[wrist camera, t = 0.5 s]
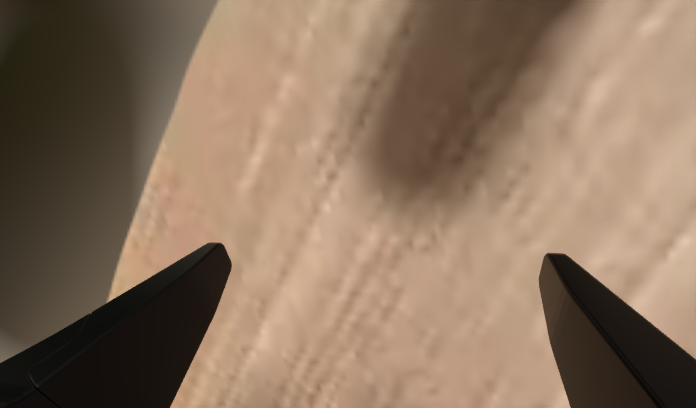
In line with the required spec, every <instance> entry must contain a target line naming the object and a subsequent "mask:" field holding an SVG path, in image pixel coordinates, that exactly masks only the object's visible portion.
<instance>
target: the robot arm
mask: <svg viewBox="0 0 696 408" xmlns="http://www.w3.org/2000/svg"><path fill="white" fill-rule="evenodd" d="M231 267H232V264H231V260H230V258H229V256H228V253H227V251H226V249H225V247H224V245H223V244H222V243H207V244H206V245H204V246H202V247H201V248H199V249H197V250H195V251H194V252H192V253H190V254H189V255H187V256H185V257H184V258H182V259H180V260H179V261H177V262H175V263H174V264H172V265H170V266H169V267H167V268H165V269H164V270H162V271H160V272H158V273H157V274H155V275H153V276H152V277H150V278H148V279H147V280H145V281H143V282H142V283H140V284H138V285H137V286H135V287H133V288H132V289H130V290H128V291H126V292H125V293H123V294H121V295H120V296H118V297H116V298H115V299H113V300H111V301H110V302H108V303H106V304H105V305H103V306H101V307H100V308H98V309H96V310H95V311H93V312H92V313H91V314H88V315H86V316H84V317H83V318H81V319H79V320H78V321H76V322H74V323H73V324H71V325H69V326H68V327H66V328H64V329H62V330H60V331H59V332H57V333H55V334H53V335H52V336H50V337H48V338H46V339H44V340H43V341H41V342H39V343H37V344H35V345H33V346H31V347H30V348H28V349H26V350H24V351H22V352H20V353H18V354H17V355H15V356H13V357H11V358H9V359H7V360H5V361H3V362H2V363H0V408H170V406H171V404H172V402H173V400H174V398H175V396H176V394H177V392H178V390H179V388H180V386H181V383H182V381H183V379H184V377H185V375H186V373H187V371H188V369H189V367H190V365H191V363H192V361H193V359H194V356H195V354H196V352H197V350H198V348H199V346H200V344H201V342H202V340H203V338H204V336H205V334H206V332H207V329H208V327H209V325H210V323H211V321H212V319H213V317H214V315H215V312H216V310H217V307H218V304H219V302H220V299H221V296H222V293H223V291H224V288H225V285H226V282H227V280H228V277H229V274H230V272H231ZM539 287H540V293H541V298H542V303H543V308H544V314H545V319H546V324H547V329H548V334H549V339H550V344H551V347H552V351H553V354H554V357H555V360H556V363H557V366H558V369H559V372H560V376H561V379H562V382H563V385H564V388H565V391H566V394H567V397H568V400H569V404H570V407H571V408H696V359H695V358H693V357H692V356H691V355H690V354H688V353H687V352H686V351H685V350H684V349H682V348H681V347H680V346H679V345H677V344H676V343H675V342H674V341H672V340H671V339H670V338H669V337H667V336H666V335H665V334H664V333H662V332H661V331H660V330H659V329H658V328H656V327H655V326H654V325H653V324H651V323H650V322H649V321H648V320H646V319H645V318H644V317H643V316H641V315H640V314H639V313H638V312H637V311H635V310H634V309H633V308H632V307H630V306H629V305H628V304H627V303H625V302H624V301H623V300H622V299H620V298H619V297H618V296H617V295H615V294H614V293H613V292H612V291H611V290H609V289H608V288H607V287H606V286H604V285H603V284H602V283H601V282H599V281H598V280H597V279H596V278H594V277H593V276H592V275H591V274H589V273H588V272H587V271H586V270H585V269H583V268H582V267H581V266H580V265H578V264H577V263H576V262H575V261H573V260H572V259H571V258H570V257H568V256H567V255H565V254H562V253H547V254H546V255H545V256H544V259H543V263H542V267H541V271H540V275H539Z"/></svg>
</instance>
